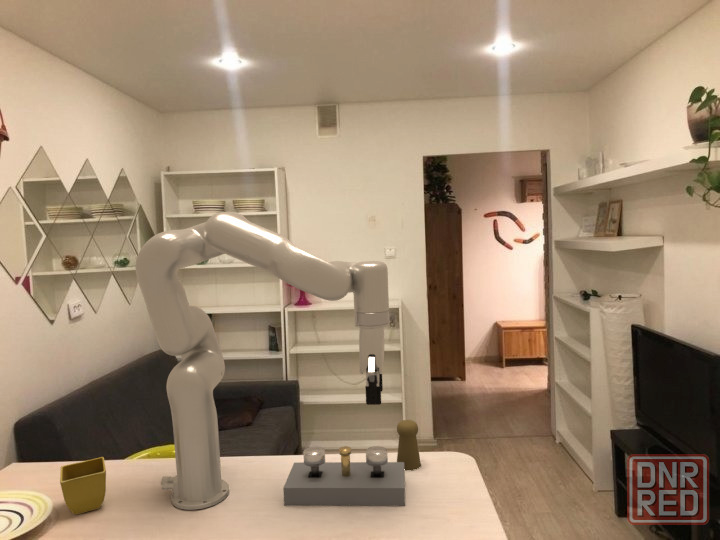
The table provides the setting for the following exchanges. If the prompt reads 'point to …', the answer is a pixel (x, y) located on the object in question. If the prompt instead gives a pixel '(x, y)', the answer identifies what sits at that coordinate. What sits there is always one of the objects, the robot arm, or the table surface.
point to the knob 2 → (376, 459)
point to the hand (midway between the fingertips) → (374, 397)
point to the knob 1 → (314, 459)
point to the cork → (408, 445)
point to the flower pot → (84, 485)
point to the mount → (345, 485)
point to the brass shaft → (345, 460)
